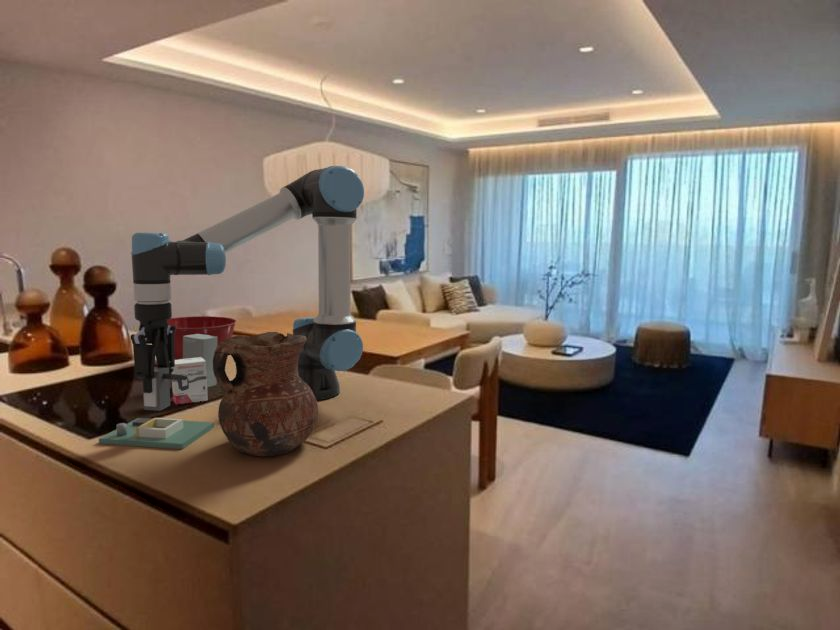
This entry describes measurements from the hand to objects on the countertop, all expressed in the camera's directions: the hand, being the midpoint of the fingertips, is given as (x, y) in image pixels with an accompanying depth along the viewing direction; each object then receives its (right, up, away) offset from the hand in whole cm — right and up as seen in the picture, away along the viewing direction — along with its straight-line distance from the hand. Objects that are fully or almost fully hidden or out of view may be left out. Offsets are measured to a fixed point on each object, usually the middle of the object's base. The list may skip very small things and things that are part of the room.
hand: (157, 402), depth 126 cm
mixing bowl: (-21, +3, +74) cm, 77 cm away
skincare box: (-8, -2, +44) cm, 45 cm away
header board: (-1, -8, +2) cm, 8 cm away
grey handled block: (+2, -1, 0) cm, 3 cm away
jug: (+27, -9, -3) cm, 29 cm away
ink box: (-4, -4, +29) cm, 30 cm away
